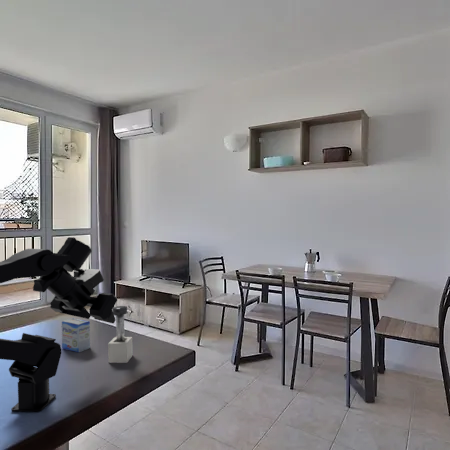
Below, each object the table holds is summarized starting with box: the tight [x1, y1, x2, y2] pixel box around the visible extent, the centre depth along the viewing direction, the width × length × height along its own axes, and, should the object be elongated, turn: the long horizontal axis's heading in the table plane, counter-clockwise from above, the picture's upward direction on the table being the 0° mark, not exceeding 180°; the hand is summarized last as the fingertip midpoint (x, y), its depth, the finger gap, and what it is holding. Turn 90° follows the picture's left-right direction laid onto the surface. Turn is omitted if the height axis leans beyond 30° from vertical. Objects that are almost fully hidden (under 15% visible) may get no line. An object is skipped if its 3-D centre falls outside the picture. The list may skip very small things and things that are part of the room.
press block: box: [107, 336, 133, 364], centre depth 100 cm, size 5×5×6 cm
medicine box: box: [61, 317, 91, 353], centre depth 108 cm, size 8×4×9 cm, turn 62°
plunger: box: [112, 305, 128, 342], centre depth 99 cm, size 4×4×10 cm
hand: (101, 319), depth 93 cm, fingers open, 9 cm apart
